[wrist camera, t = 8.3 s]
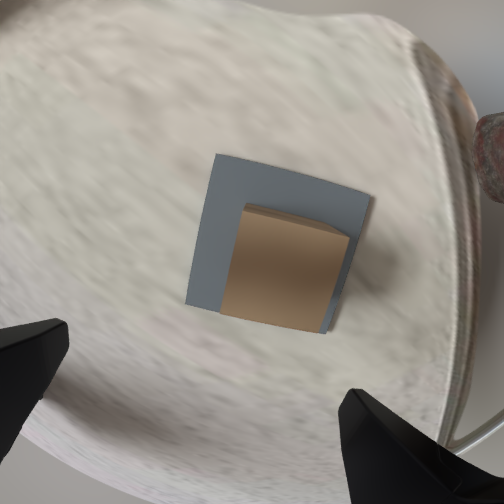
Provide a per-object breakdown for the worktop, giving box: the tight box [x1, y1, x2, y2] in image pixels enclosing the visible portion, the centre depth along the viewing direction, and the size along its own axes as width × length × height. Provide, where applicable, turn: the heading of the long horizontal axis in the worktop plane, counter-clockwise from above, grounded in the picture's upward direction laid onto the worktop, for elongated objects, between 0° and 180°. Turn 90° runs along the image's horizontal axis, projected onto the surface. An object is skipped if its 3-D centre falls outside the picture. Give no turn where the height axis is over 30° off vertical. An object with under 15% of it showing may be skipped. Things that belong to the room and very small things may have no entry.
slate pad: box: [185, 154, 370, 334], centre depth 18 cm, size 10×10×1 cm
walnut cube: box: [220, 203, 350, 333], centre depth 15 cm, size 5×5×5 cm
